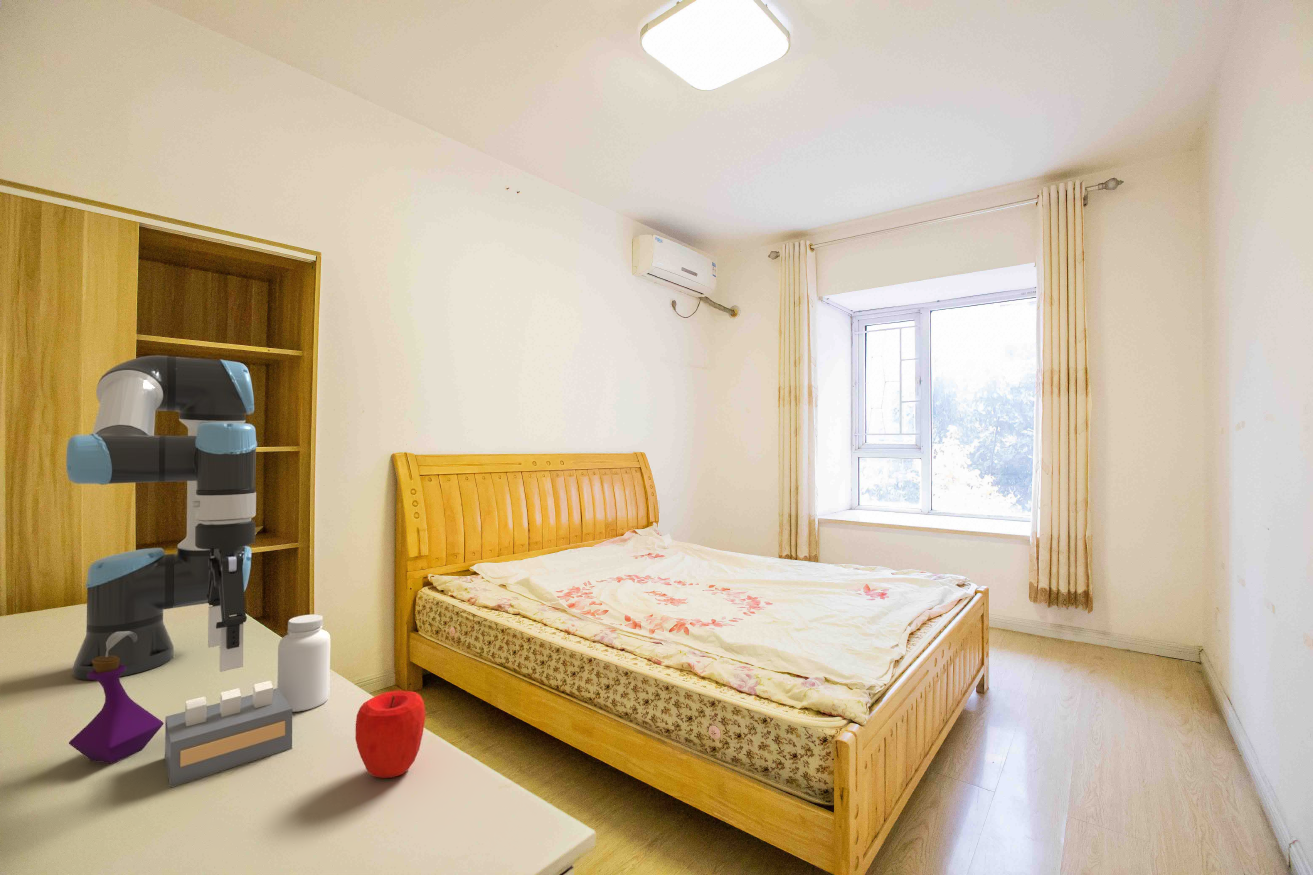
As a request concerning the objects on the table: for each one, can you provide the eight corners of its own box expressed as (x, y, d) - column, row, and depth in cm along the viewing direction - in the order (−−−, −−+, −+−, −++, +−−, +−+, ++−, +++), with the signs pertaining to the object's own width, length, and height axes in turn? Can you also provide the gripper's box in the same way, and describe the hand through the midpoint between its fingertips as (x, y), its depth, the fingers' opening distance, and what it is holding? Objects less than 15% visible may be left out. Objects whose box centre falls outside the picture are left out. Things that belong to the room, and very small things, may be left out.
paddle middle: (219, 708, 84) (220, 692, 84) (238, 704, 86) (239, 687, 85) (221, 717, 83) (222, 700, 82) (240, 712, 84) (241, 695, 84)
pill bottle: (340, 696, 103) (341, 614, 103) (299, 716, 95) (300, 627, 95) (308, 690, 105) (308, 609, 106) (265, 709, 98) (266, 622, 98)
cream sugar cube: (252, 700, 87) (253, 684, 86) (269, 696, 88) (270, 680, 88) (254, 708, 85) (255, 691, 85) (272, 703, 87) (273, 687, 86)
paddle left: (185, 718, 81) (185, 700, 81) (204, 713, 83) (205, 696, 82) (186, 726, 80) (187, 709, 79) (206, 721, 81) (206, 704, 81)
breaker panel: (165, 757, 83) (165, 716, 83) (277, 724, 93) (278, 687, 93) (170, 788, 75) (171, 743, 75) (292, 749, 85) (293, 709, 85)
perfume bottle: (108, 771, 79) (109, 643, 79) (67, 765, 81) (69, 639, 81) (164, 743, 87) (165, 626, 87) (126, 738, 88) (127, 623, 88)
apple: (355, 799, 73) (356, 715, 73) (354, 765, 81) (355, 689, 81) (428, 780, 77) (429, 700, 77) (421, 749, 85) (421, 677, 85)
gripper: (187, 515, 95) (186, 641, 95) (205, 532, 77) (203, 688, 77) (242, 511, 100) (240, 631, 100) (270, 526, 82) (269, 672, 82)
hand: (224, 656), depth 88 cm, fingers open, 13 cm apart
